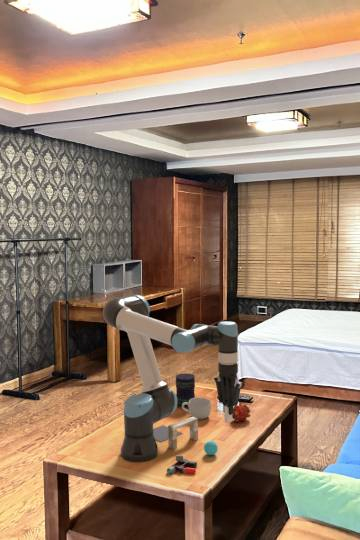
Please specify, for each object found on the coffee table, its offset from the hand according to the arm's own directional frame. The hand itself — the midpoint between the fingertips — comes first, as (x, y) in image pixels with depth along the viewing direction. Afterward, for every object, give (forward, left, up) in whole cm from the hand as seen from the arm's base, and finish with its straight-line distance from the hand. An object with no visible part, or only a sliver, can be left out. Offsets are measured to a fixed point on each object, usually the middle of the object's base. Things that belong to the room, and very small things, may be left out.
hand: (228, 421), depth 208 cm
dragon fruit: (+36, +25, -17) cm, 47 cm away
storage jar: (+33, +59, -17) cm, 69 cm away
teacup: (+25, +43, -17) cm, 52 cm away
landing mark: (0, +40, -16) cm, 43 cm away
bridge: (0, +26, -16) cm, 30 cm away
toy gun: (-18, +7, -17) cm, 25 cm away
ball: (0, +10, -14) cm, 17 cm away
